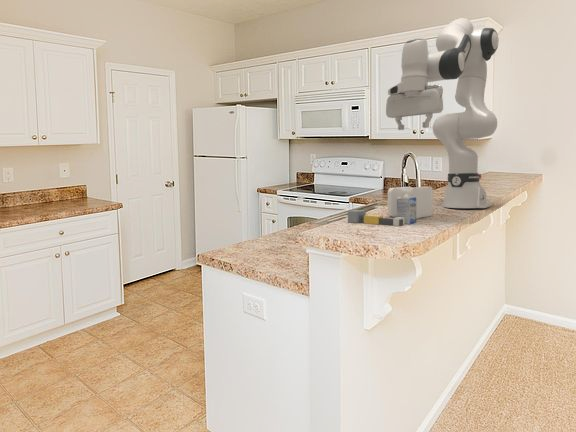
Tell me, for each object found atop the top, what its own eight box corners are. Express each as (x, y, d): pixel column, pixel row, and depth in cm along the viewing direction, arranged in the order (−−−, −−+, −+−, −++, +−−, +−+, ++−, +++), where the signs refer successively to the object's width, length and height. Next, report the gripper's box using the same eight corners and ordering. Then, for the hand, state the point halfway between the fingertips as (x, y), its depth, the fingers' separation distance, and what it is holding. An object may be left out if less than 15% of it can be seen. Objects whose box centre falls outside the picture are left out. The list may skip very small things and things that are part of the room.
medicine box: (409, 224, 153) (409, 198, 152) (396, 224, 155) (396, 198, 154) (416, 222, 160) (416, 197, 159) (403, 221, 162) (404, 196, 161)
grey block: (356, 221, 166) (356, 210, 165) (367, 222, 162) (367, 210, 162) (347, 222, 162) (347, 211, 162) (358, 223, 159) (358, 211, 159)
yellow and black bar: (364, 222, 163) (364, 214, 162) (404, 225, 151) (404, 217, 151) (357, 223, 160) (357, 215, 160) (398, 226, 148) (398, 218, 148)
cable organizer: (410, 220, 165) (410, 188, 164) (386, 218, 173) (386, 187, 171) (433, 217, 174) (433, 186, 173) (409, 215, 182) (409, 186, 181)
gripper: (447, 84, 153) (446, 127, 153) (393, 93, 167) (393, 131, 168) (438, 81, 148) (436, 125, 149) (383, 90, 163) (383, 130, 164)
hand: (413, 128), depth 159 cm, fingers open, 8 cm apart
